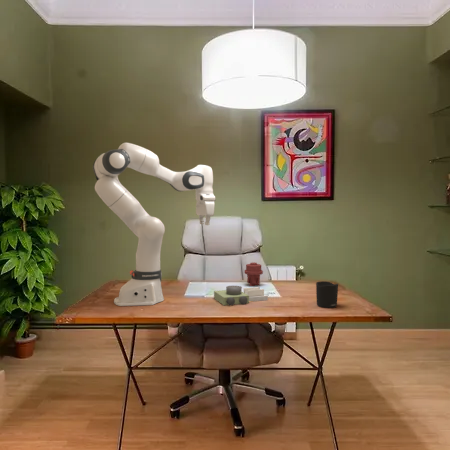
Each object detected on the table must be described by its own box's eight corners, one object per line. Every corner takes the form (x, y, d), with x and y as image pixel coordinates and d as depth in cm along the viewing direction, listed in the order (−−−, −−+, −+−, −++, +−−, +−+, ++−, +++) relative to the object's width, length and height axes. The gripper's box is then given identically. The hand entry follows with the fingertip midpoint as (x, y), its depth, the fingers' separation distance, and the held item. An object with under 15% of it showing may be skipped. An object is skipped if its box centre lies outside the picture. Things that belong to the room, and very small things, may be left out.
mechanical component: (244, 283, 230) (262, 283, 229) (243, 286, 220) (262, 287, 219) (245, 261, 229) (262, 261, 228) (244, 264, 219) (262, 264, 218)
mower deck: (224, 306, 179) (224, 291, 179) (214, 298, 194) (214, 284, 193) (271, 302, 187) (271, 288, 186) (257, 294, 201) (257, 281, 201)
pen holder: (316, 308, 177) (317, 285, 176) (315, 302, 186) (315, 281, 185) (339, 308, 175) (339, 285, 175) (336, 303, 185) (336, 281, 184)
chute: (248, 301, 189) (248, 290, 189) (243, 298, 194) (243, 288, 194) (263, 299, 192) (264, 289, 191) (259, 297, 197) (259, 287, 196)
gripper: (192, 197, 215) (193, 223, 215) (204, 197, 195) (204, 225, 196) (204, 197, 217) (204, 223, 217) (216, 197, 197) (216, 225, 198)
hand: (204, 224), depth 207 cm, fingers open, 8 cm apart
